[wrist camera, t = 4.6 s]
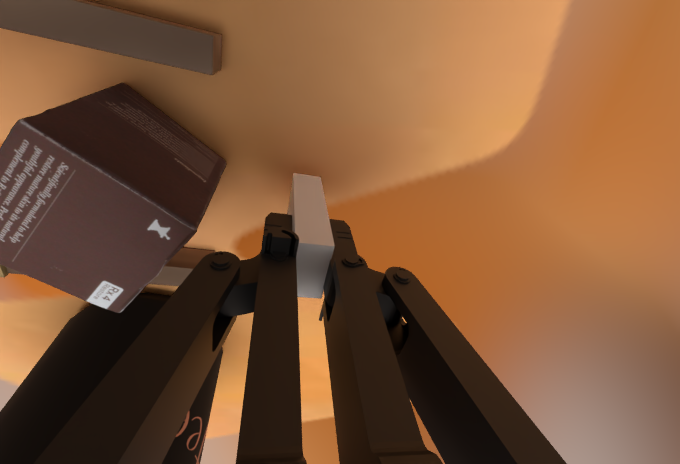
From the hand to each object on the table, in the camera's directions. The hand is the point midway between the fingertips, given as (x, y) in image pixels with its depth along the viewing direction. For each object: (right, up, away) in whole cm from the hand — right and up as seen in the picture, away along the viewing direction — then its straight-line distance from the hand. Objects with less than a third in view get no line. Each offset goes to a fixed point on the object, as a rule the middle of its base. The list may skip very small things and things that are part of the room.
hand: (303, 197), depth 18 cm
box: (-8, +2, 0) cm, 9 cm away
